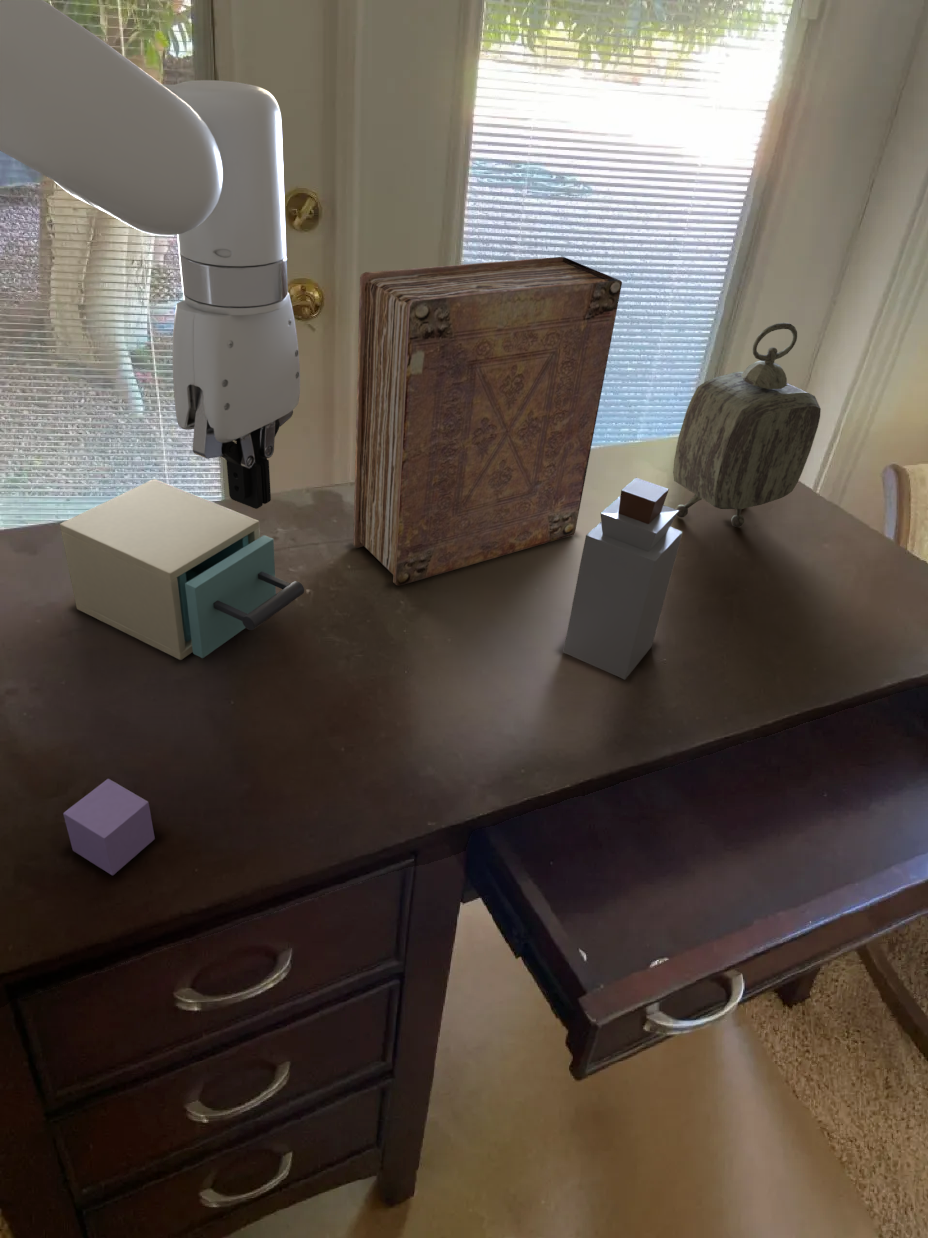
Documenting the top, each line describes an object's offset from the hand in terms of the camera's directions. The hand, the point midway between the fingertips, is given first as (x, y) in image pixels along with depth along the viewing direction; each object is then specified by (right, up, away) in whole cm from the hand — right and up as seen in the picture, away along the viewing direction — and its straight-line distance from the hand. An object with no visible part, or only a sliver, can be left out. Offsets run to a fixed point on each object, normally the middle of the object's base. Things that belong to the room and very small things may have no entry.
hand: (250, 500), depth 76 cm
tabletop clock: (+52, +3, +38) cm, 64 cm away
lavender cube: (-7, -27, -11) cm, 30 cm away
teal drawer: (-6, -10, +10) cm, 16 cm away
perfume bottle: (+33, -13, +14) cm, 38 cm away
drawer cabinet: (-11, -9, +13) cm, 19 cm away
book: (+19, -1, +28) cm, 34 cm away
